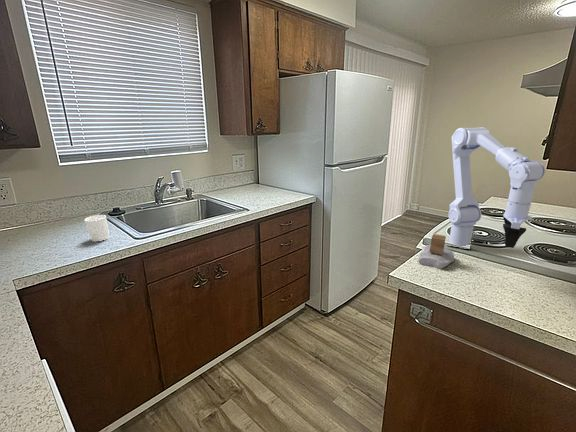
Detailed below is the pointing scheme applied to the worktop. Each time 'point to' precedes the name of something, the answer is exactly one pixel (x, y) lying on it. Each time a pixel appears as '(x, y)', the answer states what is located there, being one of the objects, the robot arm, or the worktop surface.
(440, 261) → the stone block
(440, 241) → the walnut block
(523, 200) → the robot arm
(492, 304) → the worktop surface
